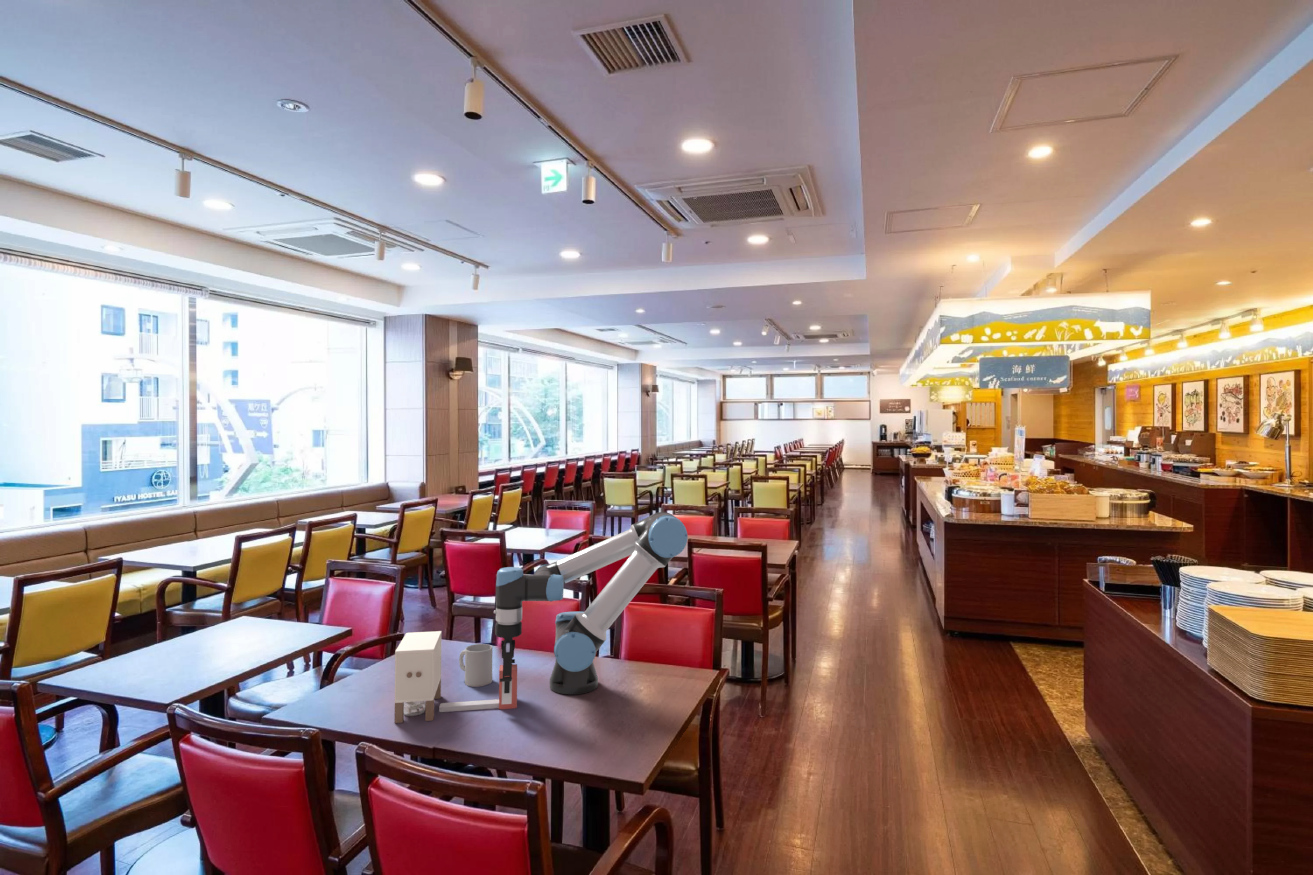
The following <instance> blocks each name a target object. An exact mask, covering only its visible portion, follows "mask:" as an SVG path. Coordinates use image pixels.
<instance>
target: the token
mask: <svg viewBox="0 0 1313 875" xmlns="http://www.w3.org/2000/svg"><path fill="white" fill-rule="evenodd" d="M425 713H426V701H416V702H404V716H405V717H416V716H420V715H423V714H425Z"/></svg>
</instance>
